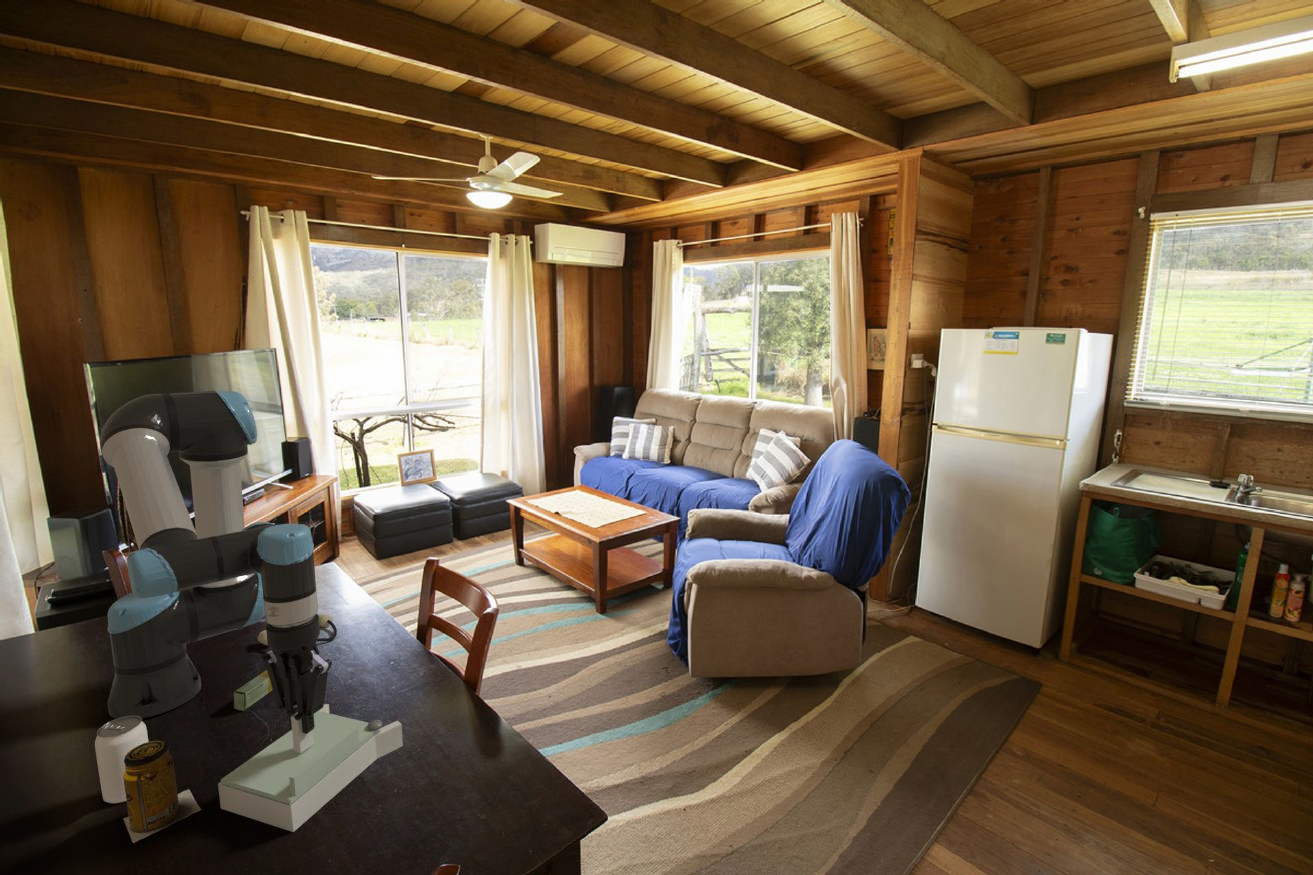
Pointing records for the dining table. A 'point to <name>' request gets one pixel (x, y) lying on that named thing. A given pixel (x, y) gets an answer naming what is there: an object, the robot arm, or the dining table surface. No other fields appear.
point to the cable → (323, 622)
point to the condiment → (153, 791)
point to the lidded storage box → (317, 794)
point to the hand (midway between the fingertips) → (304, 747)
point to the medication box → (252, 691)
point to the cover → (301, 758)
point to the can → (117, 753)
